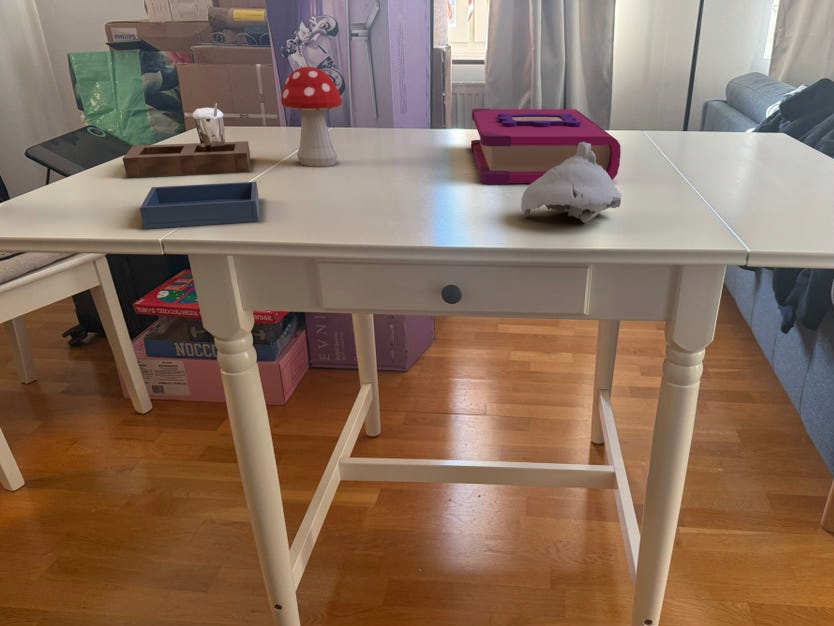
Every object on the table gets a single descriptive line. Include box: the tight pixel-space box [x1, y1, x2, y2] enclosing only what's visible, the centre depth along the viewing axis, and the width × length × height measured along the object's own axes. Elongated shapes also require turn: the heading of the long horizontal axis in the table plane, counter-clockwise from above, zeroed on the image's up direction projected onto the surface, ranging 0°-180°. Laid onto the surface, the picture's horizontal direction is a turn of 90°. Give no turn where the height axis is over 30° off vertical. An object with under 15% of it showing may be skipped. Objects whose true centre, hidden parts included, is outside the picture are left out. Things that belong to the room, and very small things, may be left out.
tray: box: [139, 181, 260, 230], centre depth 86 cm, size 13×10×3 cm
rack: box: [121, 140, 251, 179], centre depth 109 cm, size 18×10×3 cm, turn 106°
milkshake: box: [192, 103, 226, 152], centre depth 108 cm, size 4×5×10 cm
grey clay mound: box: [520, 142, 622, 224], centre depth 84 cm, size 12×12×11 cm
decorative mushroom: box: [280, 66, 343, 167], centre depth 110 cm, size 10×9×15 cm
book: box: [470, 108, 622, 185], centre depth 113 cm, size 21×28×8 cm
